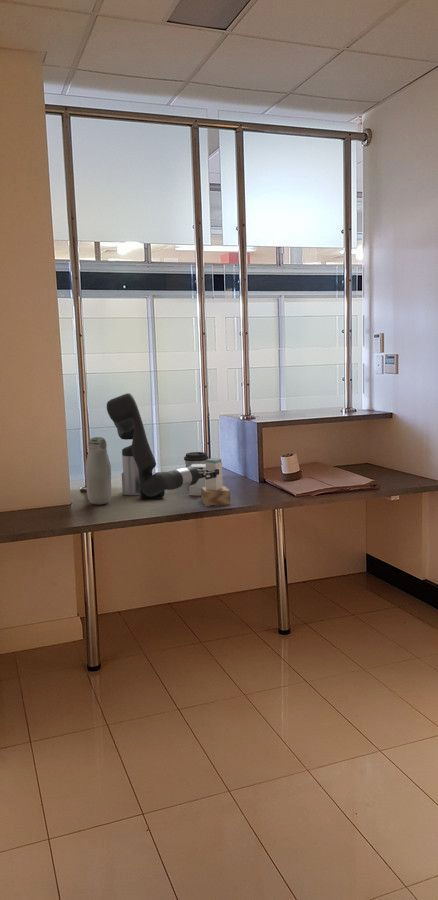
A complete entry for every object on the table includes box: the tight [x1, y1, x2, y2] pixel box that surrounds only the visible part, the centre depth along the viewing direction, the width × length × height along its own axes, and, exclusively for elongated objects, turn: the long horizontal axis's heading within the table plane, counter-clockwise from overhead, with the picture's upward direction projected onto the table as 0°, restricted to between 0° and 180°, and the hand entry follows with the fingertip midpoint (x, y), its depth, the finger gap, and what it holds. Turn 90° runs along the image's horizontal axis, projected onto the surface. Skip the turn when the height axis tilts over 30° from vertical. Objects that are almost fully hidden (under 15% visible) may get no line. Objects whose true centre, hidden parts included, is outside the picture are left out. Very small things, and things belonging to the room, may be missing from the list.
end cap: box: [139, 485, 166, 500], centre depth 301 cm, size 10×7×7 cm
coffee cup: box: [183, 451, 209, 467], centre depth 324 cm, size 11×11×15 cm
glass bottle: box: [84, 436, 112, 506], centre depth 291 cm, size 10×10×28 cm
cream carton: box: [206, 457, 223, 491], centre depth 289 cm, size 5×5×12 cm
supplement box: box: [188, 464, 206, 496], centre depth 307 cm, size 7×7×13 cm
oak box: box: [200, 485, 231, 507], centre depth 290 cm, size 10×10×6 cm
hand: (210, 470), depth 287 cm, fingers open, 8 cm apart
